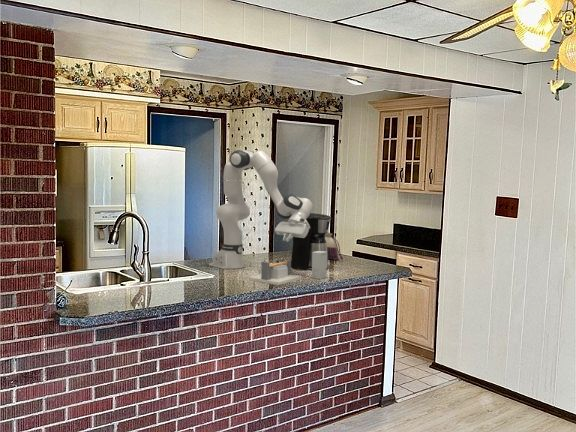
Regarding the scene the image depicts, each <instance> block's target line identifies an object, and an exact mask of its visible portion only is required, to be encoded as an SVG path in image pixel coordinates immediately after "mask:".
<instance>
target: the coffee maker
mask: <svg viewBox="0 0 576 432" xmlns="http://www.w3.org/2000/svg"><path fill="white" fill-rule="evenodd" d="M306 220H307V222H308V223H309V225H310V229H309V231H308V234H307V235H306V237H305V238H299V237H293V238H292V249H291V257H290V260H291V269H292V270H293V269H294V270H302V271H312V252H315V251H326V252H327V243H326V240H325V237H324V236H325V234H326V233H327V232H328V233H329V227H330V223H331V220H332V217H331V216H330V215H327V214H321V213H315V212H311V213H310V215H309V216H308V218H307V219H306ZM328 261H329V259H328V252H327V263H328ZM279 262H280V260H276V262H275V263H279ZM284 265H287V264H284ZM328 268H329V265H328V264H327V269H328Z"/></svg>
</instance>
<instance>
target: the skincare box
mask: <svg viewBox="0 0 576 432" xmlns="http://www.w3.org/2000/svg"><path fill="white" fill-rule="evenodd" d="M327 265H328V262H327V252H326V251H315V252H312V270H311V278H312V279H318V280H322V279H325V278H327V277H328V276H327V274H328V268H327Z"/></svg>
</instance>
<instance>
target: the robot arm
mask: <svg viewBox="0 0 576 432" xmlns="http://www.w3.org/2000/svg"><path fill="white" fill-rule="evenodd" d="M250 169H254V171H255V172H256V173H257V174H258V176H259V177H260V179H261V180H262V181H261V182H262V183H263V185H264V188H265V190H266V192H267V194H268V195H269V197H270V199H271V201H272V202H273V205H274V207H275V212H276V214H277V216H279V217H280V219H283V220H282V221H280V222H279V223H278V224H277V225H276V227H275V228H274V232H275V234H276V235H279V236H283V238H282V241H283V242H286V243H287V242H288V243H289V241H290V240H291V239H293V237H299V238H305V237H306V235H307V234H308V231H309V229H310V225H309V223H308V222H307V220H306V219H307V218H308V216H309V215H310V213H312V212H313V211H312V210H313V202H312V201H311V200H310V199H309V198H307V197H299V196H296V195H294V194H292V193H288V194H286V195H284V196H282V194H281V192H280V190H279V188H278V176H279V171H278V168H277V167H276V165H275V163H274V161H273V160H272V159H271V158H270V157H269V155H268V153H266V152H265V151H263V150H257V151H255V152H254V151H252V150H247V149H242V150H241V149H237V150H235V151H233V152H231V154H230V155H229V162H227V163H225V165H224V168H223V194H224V195H225V196H226V198H227V200H228V203H224V204H222V205H220V206H218V207H217V209H216V214H215V215H216V217H217V219H218V220H219V221H220V223H221V226H222V228H223V243H222V244H221V245H220V248H221V249H220V250H219V251H218V252H216V253H214V255H213V258H212V261H211V262H210V263H208V266H210V267H214V268H218V269H223V270H225V269H228V270H229V269H231V270H232V269H243V268H245V264H244V260H243V245H244V244H243V231H242V229H241V228H240V227H239V223H238V221H243V220H246V219H247V218H249V216H250V213H251V210H250V209H251V208H250V206H248V204H247V203H246V201H245V198H244V193H243V180H242V179H243V178H242V175H243V174H242V173H243V171H248V170H250ZM284 219H286V220H284ZM287 219H288V220H287Z"/></svg>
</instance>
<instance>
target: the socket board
mask: <svg viewBox="0 0 576 432" xmlns="http://www.w3.org/2000/svg"><path fill="white" fill-rule="evenodd" d="M279 262H285V259H283V258H280V260H279ZM286 262H287V265H284V264H282V265H278V266H273V267H269V265H270V264H271V263H270V261H265V260H264V261H261V274H257V275H252V276H249V277H248V281H254V282H258V283H259V282H260V283H264V284H270V285H274V286H281V285H284V284H288V283H293V282H296V281H298V280H299V281H300V280H302V279H303V276H302V275H297V274H291V273H292V272H291V271H292V268H291V259H288V260H286Z"/></svg>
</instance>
